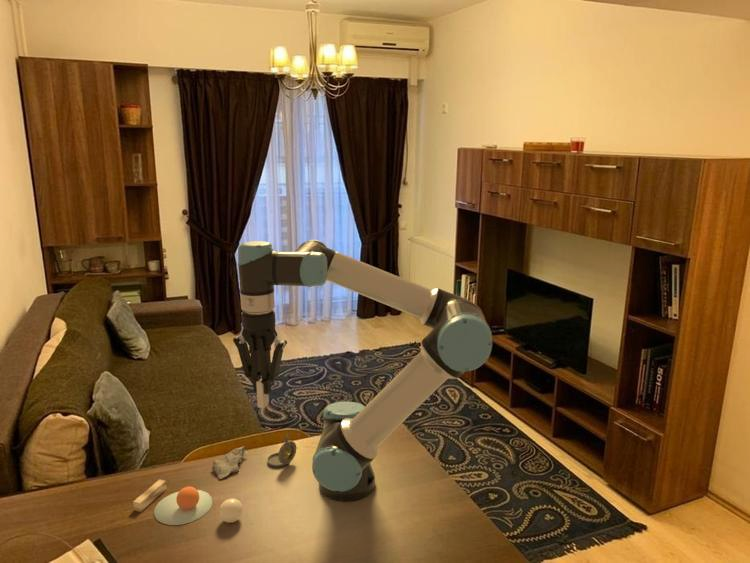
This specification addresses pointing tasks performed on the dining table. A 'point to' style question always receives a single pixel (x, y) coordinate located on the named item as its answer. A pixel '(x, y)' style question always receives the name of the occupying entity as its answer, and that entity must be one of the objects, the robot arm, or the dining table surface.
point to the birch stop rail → (149, 495)
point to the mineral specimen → (228, 462)
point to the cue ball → (231, 510)
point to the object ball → (187, 498)
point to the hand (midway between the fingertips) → (263, 405)
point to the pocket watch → (283, 454)
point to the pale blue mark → (174, 515)
